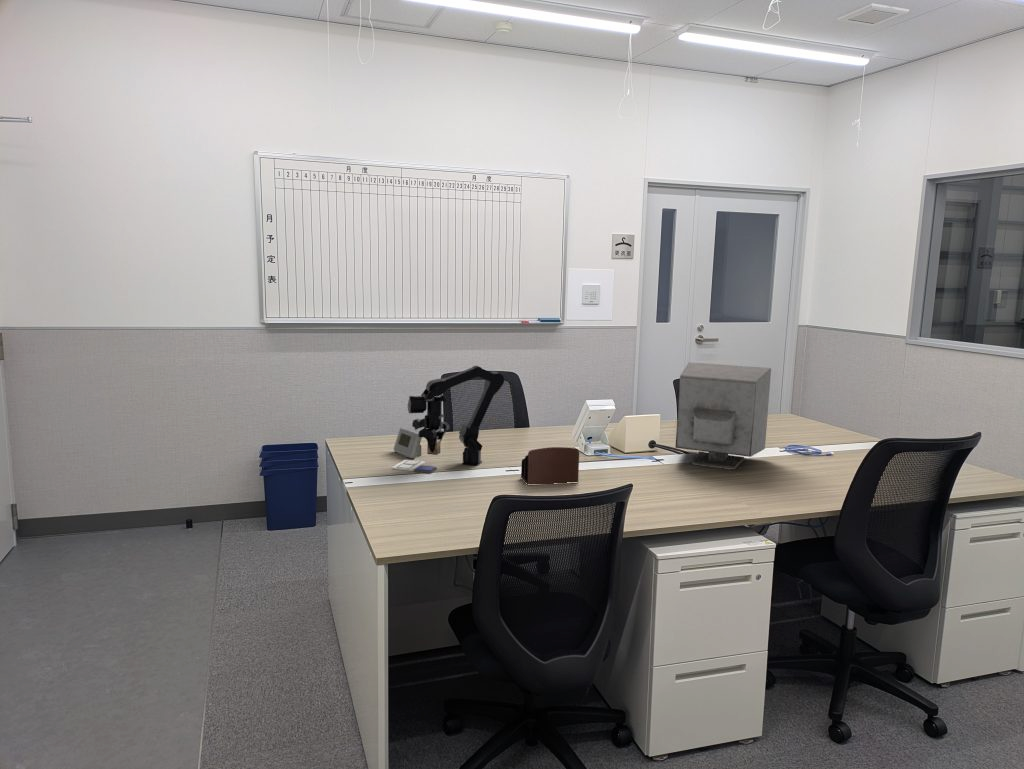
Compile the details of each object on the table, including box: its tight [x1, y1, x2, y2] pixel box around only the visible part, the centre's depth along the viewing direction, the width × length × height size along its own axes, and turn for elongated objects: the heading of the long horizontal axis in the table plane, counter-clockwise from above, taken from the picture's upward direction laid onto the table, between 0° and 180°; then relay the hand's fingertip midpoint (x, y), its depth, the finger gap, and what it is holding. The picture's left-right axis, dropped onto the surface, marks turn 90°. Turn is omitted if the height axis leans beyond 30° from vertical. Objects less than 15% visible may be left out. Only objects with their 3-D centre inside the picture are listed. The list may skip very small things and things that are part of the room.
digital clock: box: [393, 426, 423, 459], centre depth 312 cm, size 16×9×11 cm, turn 27°
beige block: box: [426, 439, 442, 456], centre depth 295 cm, size 4×4×6 cm
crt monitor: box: [675, 361, 772, 470], centre depth 308 cm, size 35×37×40 cm
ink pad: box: [414, 464, 438, 475], centre depth 288 cm, size 7×6×1 cm
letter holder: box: [520, 446, 580, 485], centre depth 278 cm, size 10×20×14 cm, turn 104°
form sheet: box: [391, 459, 426, 472], centre depth 295 cm, size 9×13×1 cm
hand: (433, 450), depth 295 cm, fingers closed on beige block, 4 cm apart
